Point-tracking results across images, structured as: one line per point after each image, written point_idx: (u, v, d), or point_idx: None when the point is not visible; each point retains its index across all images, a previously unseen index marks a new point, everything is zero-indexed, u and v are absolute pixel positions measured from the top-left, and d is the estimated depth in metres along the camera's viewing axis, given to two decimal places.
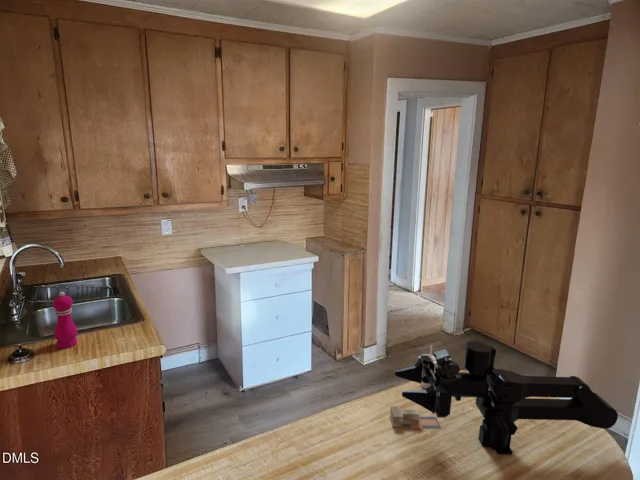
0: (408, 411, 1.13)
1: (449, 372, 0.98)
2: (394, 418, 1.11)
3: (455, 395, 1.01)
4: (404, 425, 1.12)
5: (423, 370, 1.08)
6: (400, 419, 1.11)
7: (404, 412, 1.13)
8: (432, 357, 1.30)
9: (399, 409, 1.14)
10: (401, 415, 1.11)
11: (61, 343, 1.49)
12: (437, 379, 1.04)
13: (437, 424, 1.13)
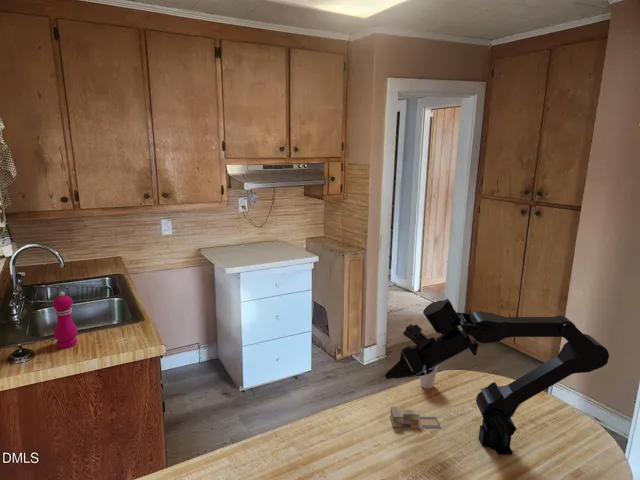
0: (408, 411, 1.13)
1: (412, 334, 1.02)
2: (394, 418, 1.11)
3: (438, 356, 1.00)
4: (404, 425, 1.12)
5: None
6: (400, 419, 1.11)
7: (404, 412, 1.13)
8: None
9: (399, 409, 1.14)
10: (401, 415, 1.11)
11: (61, 343, 1.49)
12: None
13: (437, 424, 1.13)
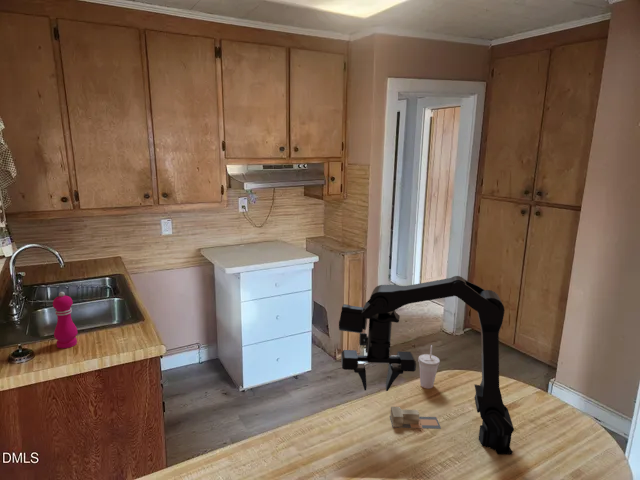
0: (408, 411, 1.13)
1: (359, 342, 1.15)
2: (394, 418, 1.11)
3: (370, 345, 1.07)
4: (404, 425, 1.12)
5: (391, 363, 1.10)
6: (400, 419, 1.11)
7: (404, 412, 1.13)
8: (432, 357, 1.30)
9: (399, 409, 1.14)
10: (401, 415, 1.11)
11: (61, 343, 1.49)
12: None
13: (437, 424, 1.13)
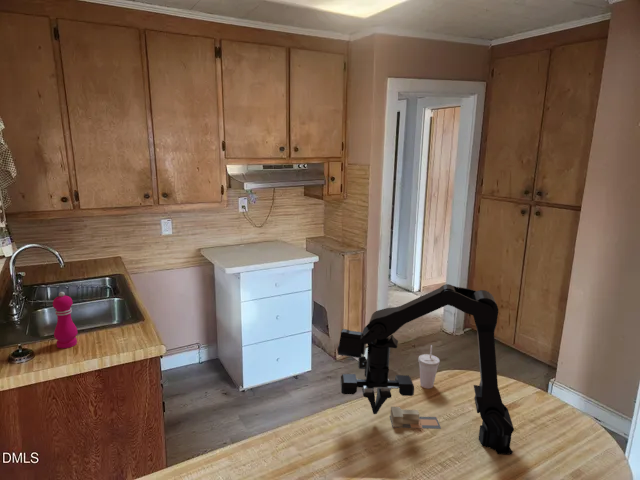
0: (408, 411, 1.13)
1: (358, 365, 1.16)
2: (394, 418, 1.11)
3: (368, 370, 1.09)
4: (404, 425, 1.12)
5: None
6: (400, 419, 1.11)
7: (404, 412, 1.13)
8: (432, 357, 1.30)
9: (399, 409, 1.14)
10: (401, 415, 1.11)
11: (61, 343, 1.49)
12: None
13: (437, 424, 1.13)
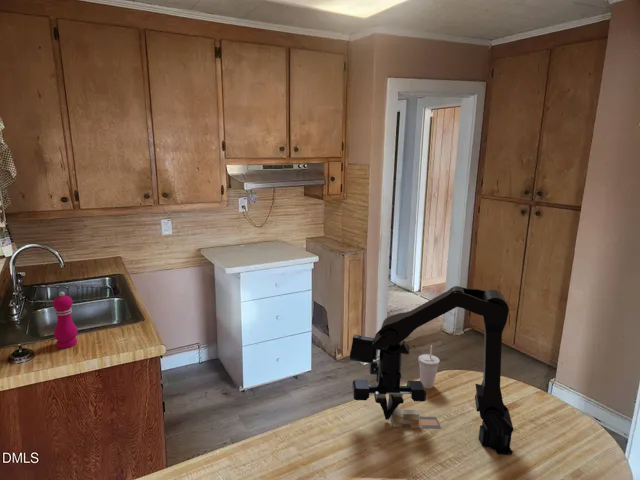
0: (408, 411, 1.13)
1: (370, 371, 1.16)
2: (394, 418, 1.11)
3: (381, 376, 1.09)
4: (404, 425, 1.12)
5: None
6: (400, 419, 1.11)
7: (404, 412, 1.13)
8: (432, 357, 1.30)
9: (399, 409, 1.14)
10: (401, 415, 1.11)
11: (61, 343, 1.49)
12: None
13: (437, 424, 1.13)
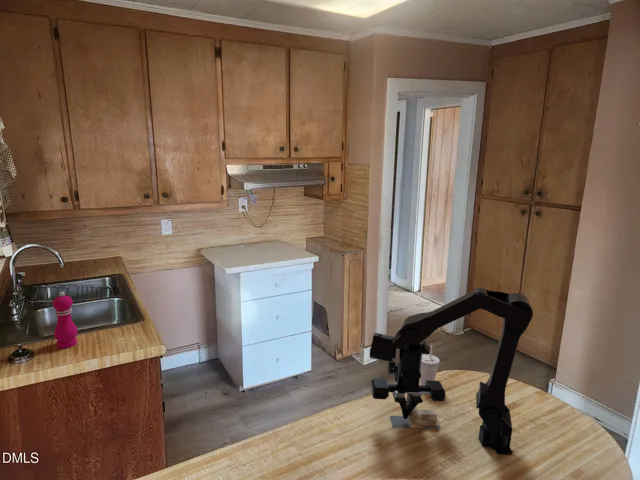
0: (426, 411, 1.13)
1: (388, 370, 1.16)
2: (412, 418, 1.11)
3: (400, 375, 1.09)
4: (404, 425, 1.12)
5: None
6: (418, 419, 1.11)
7: (421, 412, 1.13)
8: (432, 357, 1.30)
9: (416, 409, 1.14)
10: (419, 415, 1.11)
11: (61, 343, 1.49)
12: None
13: (437, 424, 1.13)
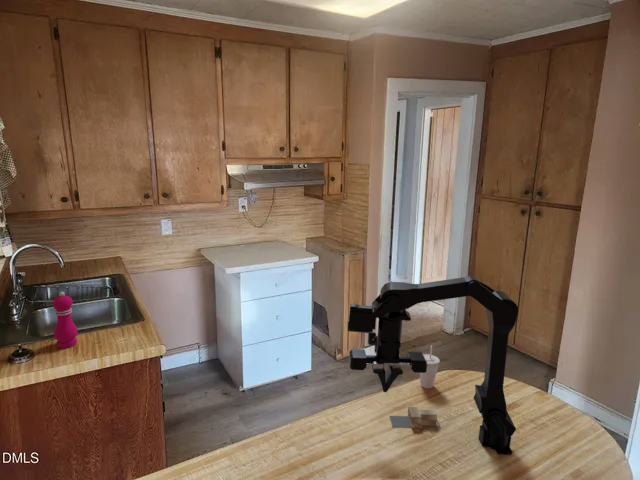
0: (426, 411, 1.13)
1: (368, 342, 1.10)
2: (412, 418, 1.11)
3: (379, 345, 1.03)
4: (404, 425, 1.12)
5: (390, 363, 1.06)
6: (418, 419, 1.11)
7: (421, 412, 1.13)
8: (432, 357, 1.30)
9: (417, 409, 1.14)
10: (419, 415, 1.11)
11: (61, 343, 1.49)
12: None
13: (437, 424, 1.13)
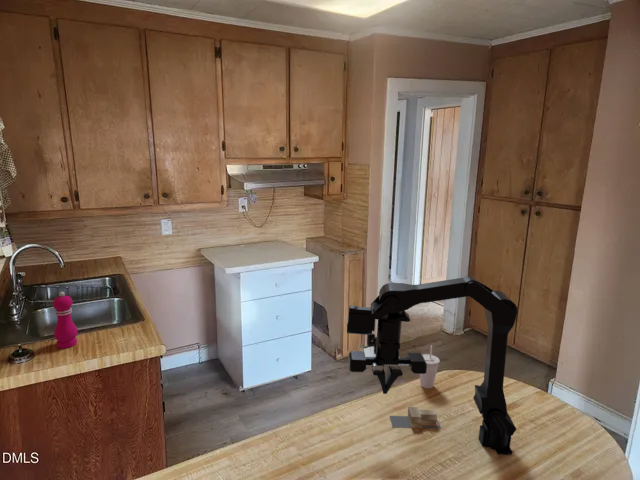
0: (426, 411, 1.13)
1: (367, 343, 1.10)
2: (412, 418, 1.11)
3: (378, 346, 1.02)
4: (404, 425, 1.12)
5: None
6: (418, 419, 1.11)
7: (421, 412, 1.13)
8: (432, 357, 1.30)
9: (417, 409, 1.14)
10: (419, 415, 1.11)
11: (61, 343, 1.49)
12: None
13: (437, 424, 1.13)
